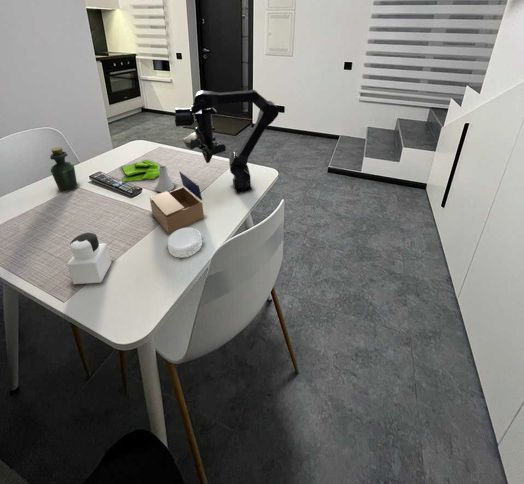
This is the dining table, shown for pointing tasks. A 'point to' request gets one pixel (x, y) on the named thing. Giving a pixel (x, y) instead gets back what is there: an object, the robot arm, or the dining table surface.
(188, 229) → the white round disc
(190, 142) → the robot arm
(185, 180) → the flap
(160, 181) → the flask
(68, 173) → the potion bottle
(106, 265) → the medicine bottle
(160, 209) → the carton
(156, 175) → the cloth
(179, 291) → the dining table surface
